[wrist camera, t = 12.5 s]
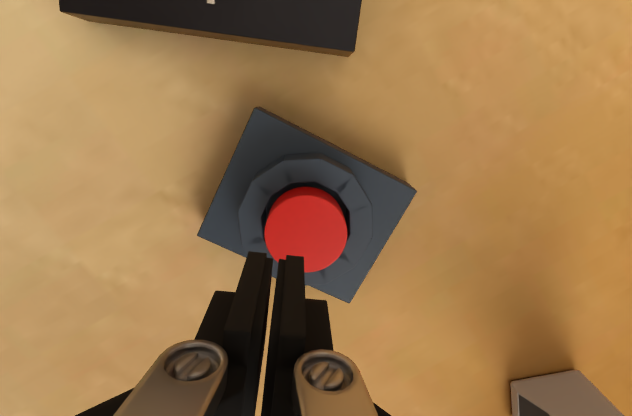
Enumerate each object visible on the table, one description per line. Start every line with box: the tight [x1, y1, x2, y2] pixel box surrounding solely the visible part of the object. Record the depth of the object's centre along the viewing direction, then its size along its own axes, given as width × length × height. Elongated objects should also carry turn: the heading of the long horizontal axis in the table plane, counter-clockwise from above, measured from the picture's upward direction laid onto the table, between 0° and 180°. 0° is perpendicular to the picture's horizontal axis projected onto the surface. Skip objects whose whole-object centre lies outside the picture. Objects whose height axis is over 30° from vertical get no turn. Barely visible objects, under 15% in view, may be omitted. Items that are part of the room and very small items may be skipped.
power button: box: [264, 187, 347, 272], centre depth 19 cm, size 4×4×2 cm
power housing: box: [197, 107, 417, 303], centre depth 21 cm, size 10×8×4 cm
